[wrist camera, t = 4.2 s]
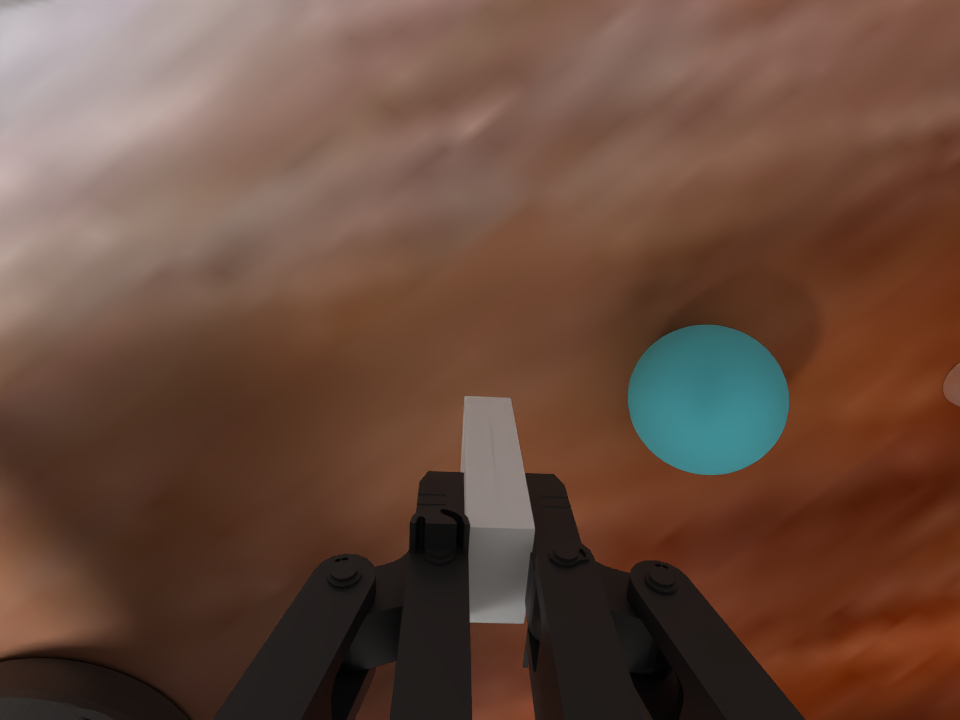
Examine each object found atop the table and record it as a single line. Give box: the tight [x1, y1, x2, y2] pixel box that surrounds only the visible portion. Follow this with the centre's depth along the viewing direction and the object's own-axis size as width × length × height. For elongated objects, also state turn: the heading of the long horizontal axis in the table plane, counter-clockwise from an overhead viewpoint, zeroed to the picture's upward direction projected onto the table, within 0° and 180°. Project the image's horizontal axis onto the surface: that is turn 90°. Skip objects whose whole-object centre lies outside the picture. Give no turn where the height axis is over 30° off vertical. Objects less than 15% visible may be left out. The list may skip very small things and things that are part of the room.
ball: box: [628, 325, 789, 475], centre depth 23 cm, size 6×6×6 cm
